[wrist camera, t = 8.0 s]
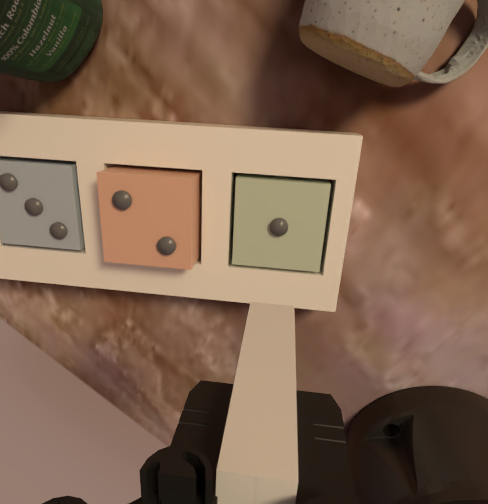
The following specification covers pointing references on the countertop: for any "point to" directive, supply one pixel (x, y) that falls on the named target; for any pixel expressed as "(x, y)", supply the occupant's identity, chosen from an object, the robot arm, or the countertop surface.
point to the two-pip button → (150, 216)
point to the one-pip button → (279, 221)
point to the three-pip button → (40, 203)
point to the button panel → (213, 202)
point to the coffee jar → (47, 36)
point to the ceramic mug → (390, 37)
